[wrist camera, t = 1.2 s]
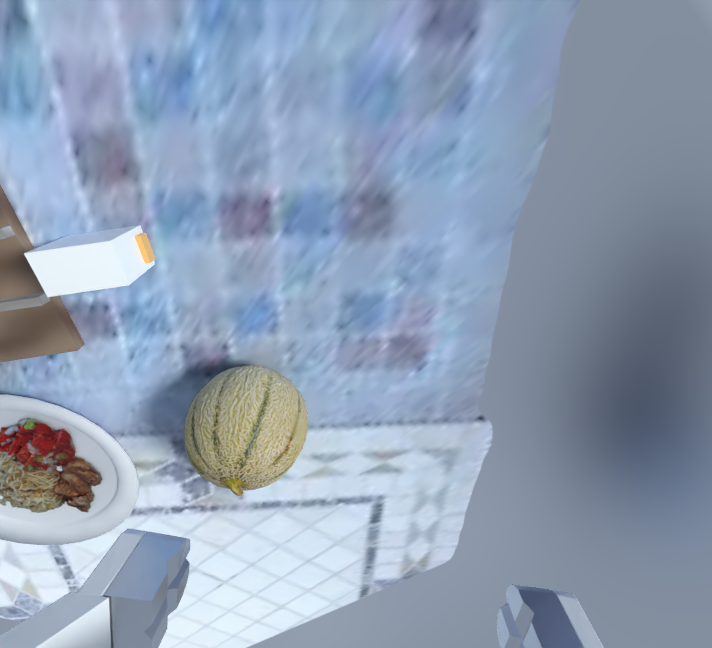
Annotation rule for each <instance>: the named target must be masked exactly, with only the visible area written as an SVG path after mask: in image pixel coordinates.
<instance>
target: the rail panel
mask: <svg viewBox="0 0 712 648" xmlns="http://www.w3.org/2000/svg"><path fill="white" fill-rule="evenodd" d="M33 249H34V248H33V246H32V244H31V242H30V240H29V238H28V237H27V235H26V233H25V231H24V229H23V227H22V225H21V223H20V221H19V220H18V218H17V216H16V214H15V212H14V210H13V208H12V206H11V204H10V203H9V201H8V199H7V197H6V195H5V193H4V191H3V189H2V187H1V186H0V362H5V361H11V360H18V359H25V358H31V357H38V356H44V355H51V354H57V353H64V352H70V351H77V350H79V349H80V348H81V347H82V346H83V345H84V342H83V340H82V338H81V337H80V335H79V333H78V331H77V329H76V327H75V325H74V323H73V321H72V320H71V318H70V316H69V314H68V312H67V310H66V308H65V306H64V304H63V303H62V301H61V299H60V297H59V296H52V297H47V295H46V293H45V291H44V290H43V288H42V286H41V284H40V282H39V280H38V279H37V277H36V275H35V273H34V271H33V269H32V268H31V266H30V264H29V262H28V260H27V258H26V257H25V255H24V253H26V252H28V251H31V250H33Z"/></svg>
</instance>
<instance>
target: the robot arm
mask: <svg viewBox="0 0 712 648" xmlns="http://www.w3.org/2000/svg"><path fill="white" fill-rule="evenodd" d="M189 551H190V539H187V538H182V537H176V536H170V535H165V534H159V533H153V532H147V531H140V530H134V529H127V530H126V531H124V532H123V533H122V534H121V535H120V536H119V537H118V539H117V540H116V541H115V543H114V544H113V545H112V547H111V548H110V549H109V551H108V552H107V553H106V555H105V556H104V557H103V559H102V560H101V562H100V563H99V564H98V566H97V567H96V568H95V570H94V571H93V572H92V574H91V575H90V576H89V578H88V579H87V580H86V582H85V583H84V584H83V586H82V587H81V588H80V590H79V591H78V592H77V593H76V592H70V593H68V594H66V595H65V596H63V597H62V598H60V599H58V600H57V601H55V602H54V603H52V604H50V605H49V606H47V607H46V608H44V609H42V610H41V611H39V612H38V613H36V614H34V615H33V616H31V617H30V618H28V619H26V620H25V621H23V622H22V623H20V624H18V625H17V626H15V627H14V628H12V629H10V630H9V631H7V632H6V633H4V634H3V635H1V636H0V648H158V647H159V645H160V643H161V640H162V638H163V636H164V634H165V632H166V630H167V617H168V615H169V614H170V613H171V612H172V611H174V610H175V609H176V608H177V606H178V604H179V602H180V600H181V597H182V595H183V592H184V589H185V586H186V583H187V579H188V574H189V562H188V561H187V559H186V557H187V555H188V553H189ZM506 597H507V600H508V603H506V604H505V605H504V606H502V607H500V611H499V614H498V617H497V633H498V639H499V644H500V646H501V648H604V647H603V645H602V644H601V642H600V640H599V638H598V636H597V634H596V633H595V631H594V629H593V627H592V625H591V623H590V622H589V620H588V618H587V616H586V615H585V613H584V611H583V609H582V607H581V605H580V604H579V602H578V600H577V598H576V597H575V596H574V595H573V594H572V593H569V592H562V591H556V590H549V589H544V588H536V587H528V586H520V585H513V584H512V585H511V586H510V587H508V590H507V592H506Z"/></svg>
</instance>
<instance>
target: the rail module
mask: <svg viewBox="0 0 712 648" xmlns="http://www.w3.org/2000/svg"><path fill="white" fill-rule="evenodd" d="M24 255H25V257H26V258H27V260H28V262H29V264H30V266H31V268H32V269H33V271H34V273H35V275H36V277H37V279H38V280H39V282H40V284H41V286H42V288H43V290H44V291H45V293H46V295H47V297H52V296H59V295H66V294H73V293H79V292H86V291H93V290H100V289H106V288H113V287H120V286H127V285H130V284H131V283H132V282H133V281H135V280H136V279H137V278H138V277H140V276H141V275H142V274H143V273H144V272H146V271H147V270H148V269H149V268H151V267H152V266H153V265H154V264H155V263H154V260H155V259H156V258H155V256H154V253H153V250H152V248H151V245H150V243H149V240H148V237H147V235H146V233H143V231H142V229H141V226H140V225H138V226H131V227H124V228H117V229H110V230H103V231H96V232H89V233H82V234H75V235H68V236H65V237H62V238H60V239H58V240H55V241H53V242H50V243H48V244H45V245H43V246H40V247H38V248H36V249H33V250H31V251H28V252H26V253H24Z"/></svg>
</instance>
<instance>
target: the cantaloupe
mask: <svg viewBox="0 0 712 648" xmlns="http://www.w3.org/2000/svg"><path fill="white" fill-rule="evenodd" d="M307 414H308V413H307V410H306V406H305V403H304V400H303V398H302V396H301V394H300V392H299V391H298V390H297V389H296V387H295V386H294V385H293V384H292V383H291V382H290V381H289V380H288V379H287V378H286V377H284V376H282V375H281V374H279V373H277V372H275V371H273V370H271V369H269V368H266V367H263V366H256V365H248V366H241V367H234V368H230V369H228V370H225V371H223V372H221V373H219V374H218V375H216V376H215V377H214V378H213V379H211V380H210V381H209V382H208V383H207V384H206V385H205V386H204V387H203V388H202V389H201V390H200V391H199V393H198V394H197V395H196V396H195V398H194V400H193V402H192V403H191V405H190V408H189V410H188V414H187V417H186V422H185V427H184V429H185V441H184V444H185V449H186V453H187V456H188V459H189V461H190V463H191V465H192V466H193V468H194V469H195V471H196V472H197V473H198V474H199V475H200V476H202V477H203V478H204V479H206V480H208V481H210V482H211V483H213V484H215V485H217V486H219V487H223V488H228V489H231V491H232V492H233V493H234V494H236V495H237V496H242V494H243V491H242V490H254V489H258V488H262V487H265V486H268V485H270V484H271V483H273V482H275V481H277V480H278V479H280V478H281V477H282V476H283V475H284V474H285V473H286V472H287V471H288V470H289V469H290V467H292V465H293V463H294V462H295V460H296V458H297V457H298V455H299V453H300V451H301V450H302V449H303V444H304V442H305V441H306V434H307V429H308V416H307Z"/></svg>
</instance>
